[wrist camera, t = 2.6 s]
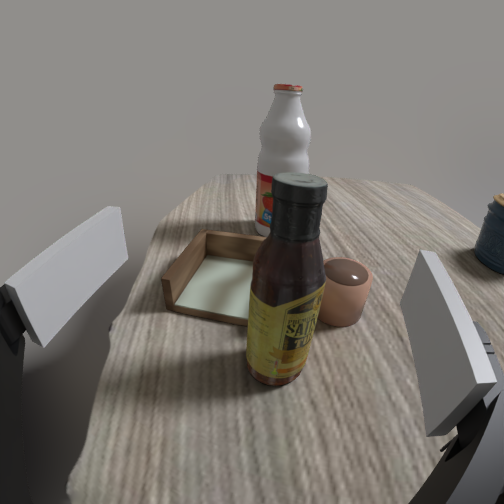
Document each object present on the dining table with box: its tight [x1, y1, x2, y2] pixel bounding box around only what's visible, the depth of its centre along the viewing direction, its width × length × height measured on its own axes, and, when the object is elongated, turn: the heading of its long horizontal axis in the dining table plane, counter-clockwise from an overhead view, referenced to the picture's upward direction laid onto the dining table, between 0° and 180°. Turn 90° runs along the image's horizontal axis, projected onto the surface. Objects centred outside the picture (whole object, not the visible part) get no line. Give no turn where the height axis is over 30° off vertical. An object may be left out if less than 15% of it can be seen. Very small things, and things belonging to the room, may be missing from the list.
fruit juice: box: [255, 84, 311, 237], centre depth 51 cm, size 9×9×28 cm
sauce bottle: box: [246, 172, 328, 386], centre depth 25 cm, size 7×6×20 cm
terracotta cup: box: [317, 257, 373, 327], centre depth 37 cm, size 7×7×6 cm
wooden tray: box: [161, 229, 267, 326], centre depth 40 cm, size 15×14×5 cm
